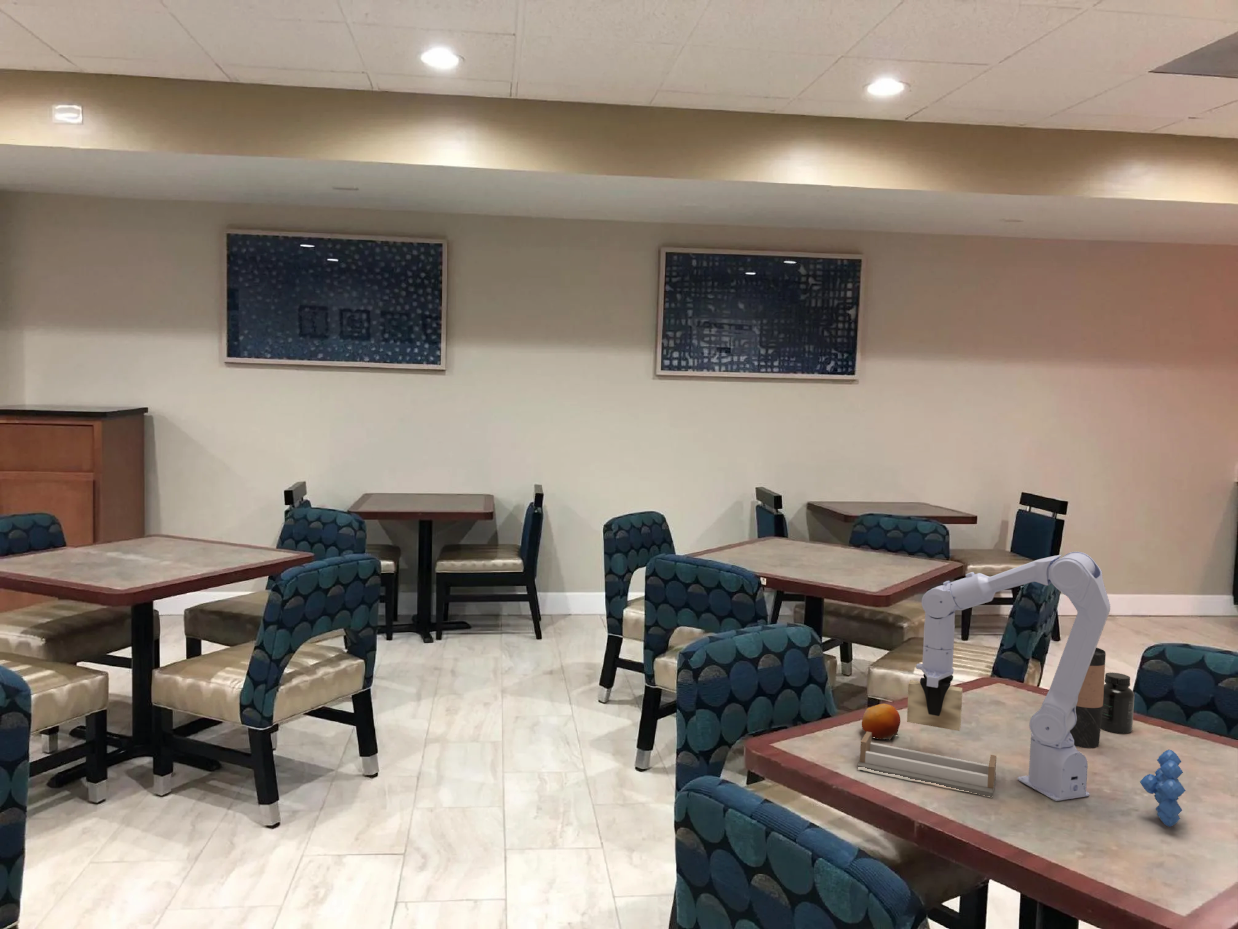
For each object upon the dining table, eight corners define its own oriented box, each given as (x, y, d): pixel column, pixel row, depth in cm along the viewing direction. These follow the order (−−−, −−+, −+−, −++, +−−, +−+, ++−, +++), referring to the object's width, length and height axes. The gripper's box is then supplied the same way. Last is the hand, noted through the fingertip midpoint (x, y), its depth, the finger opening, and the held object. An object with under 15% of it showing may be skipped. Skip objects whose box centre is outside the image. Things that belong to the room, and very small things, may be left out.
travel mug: (1107, 749, 182) (1113, 655, 180) (1070, 748, 182) (1076, 654, 180) (1088, 735, 189) (1094, 644, 188) (1053, 734, 189) (1058, 643, 188)
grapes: (1135, 801, 158) (1139, 736, 157) (1179, 810, 154) (1184, 744, 154) (1139, 828, 147) (1144, 759, 146) (1187, 838, 144) (1192, 768, 143)
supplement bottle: (1119, 723, 197) (1123, 671, 196) (1138, 734, 191) (1142, 680, 190) (1090, 722, 197) (1093, 670, 196) (1108, 734, 190) (1111, 680, 189)
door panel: (960, 727, 175) (962, 688, 174) (959, 731, 172) (961, 691, 172) (908, 718, 179) (910, 680, 179) (906, 722, 177) (908, 683, 176)
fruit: (901, 741, 179) (883, 704, 181) (868, 752, 184) (851, 716, 186) (914, 730, 186) (896, 694, 188) (882, 741, 190) (865, 706, 192)
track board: (995, 777, 166) (997, 752, 166) (992, 798, 157) (993, 771, 157) (867, 752, 177) (868, 728, 177) (857, 770, 168) (858, 745, 168)
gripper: (922, 635, 183) (919, 698, 184) (912, 652, 170) (908, 720, 171) (958, 639, 180) (955, 704, 181) (950, 657, 167) (946, 726, 168)
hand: (935, 712), depth 175 cm, fingers closed on door panel, 2 cm apart
